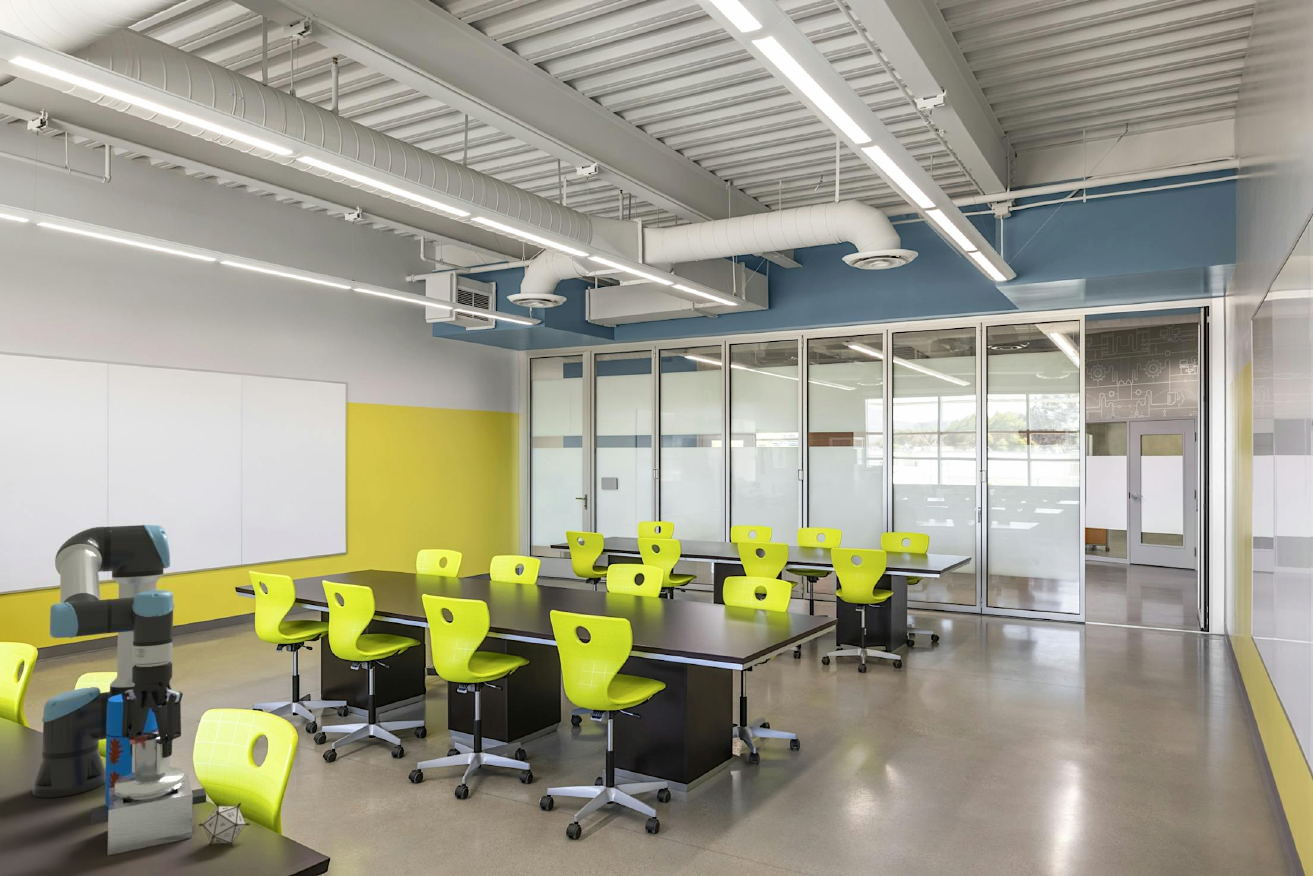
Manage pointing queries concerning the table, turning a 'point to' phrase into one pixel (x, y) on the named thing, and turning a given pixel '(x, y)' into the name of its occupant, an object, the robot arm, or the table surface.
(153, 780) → the lid
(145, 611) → the robot arm
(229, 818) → the game die
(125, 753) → the thermos
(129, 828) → the base
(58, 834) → the table surface
